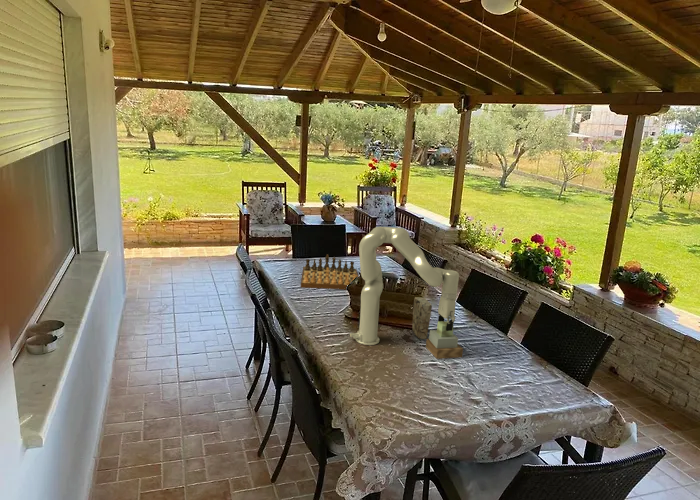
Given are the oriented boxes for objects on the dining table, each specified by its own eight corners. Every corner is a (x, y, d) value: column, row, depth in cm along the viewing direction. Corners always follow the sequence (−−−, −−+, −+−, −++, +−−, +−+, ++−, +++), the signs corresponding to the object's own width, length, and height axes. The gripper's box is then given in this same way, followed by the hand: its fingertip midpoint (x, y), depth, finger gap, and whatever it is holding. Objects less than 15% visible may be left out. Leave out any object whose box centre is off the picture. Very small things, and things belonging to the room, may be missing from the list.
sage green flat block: (436, 348, 261) (437, 339, 260) (428, 339, 272) (429, 330, 270) (457, 347, 264) (458, 338, 263) (448, 338, 274) (449, 329, 273)
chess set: (359, 290, 355) (360, 270, 351) (300, 288, 353) (301, 267, 349) (356, 273, 394) (357, 254, 390) (303, 271, 392) (303, 252, 388)
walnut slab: (436, 359, 260) (437, 350, 259) (425, 347, 273) (426, 338, 272) (462, 358, 264) (463, 348, 263) (450, 346, 277) (451, 337, 276)
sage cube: (441, 337, 263) (442, 326, 261) (436, 332, 268) (437, 321, 267) (452, 336, 264) (453, 325, 263) (447, 331, 270) (448, 321, 268)
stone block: (430, 339, 283) (433, 304, 278) (418, 339, 281) (421, 305, 276) (419, 329, 295) (423, 295, 290) (408, 330, 293) (411, 296, 288)
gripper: (434, 289, 268) (431, 320, 272) (449, 301, 252) (445, 334, 256) (448, 289, 270) (444, 319, 274) (463, 300, 254) (459, 333, 258)
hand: (444, 326), depth 265 cm, fingers open, 9 cm apart
